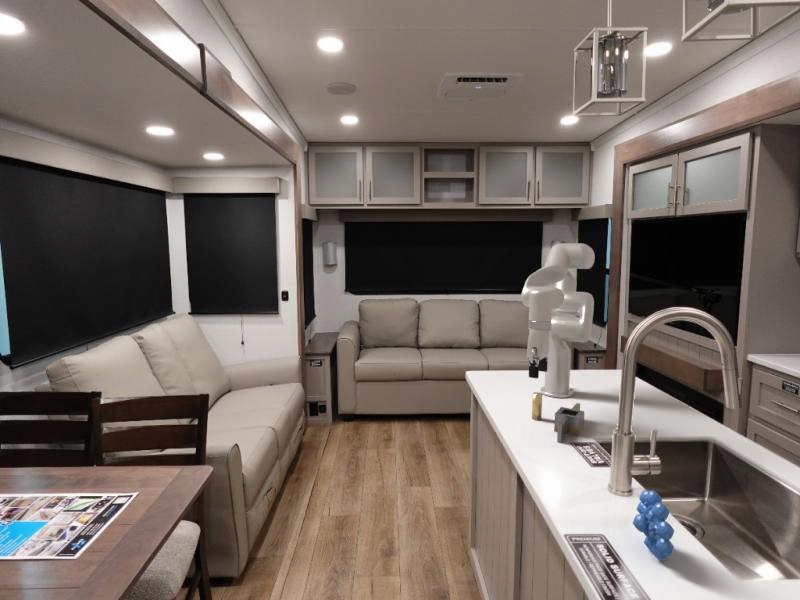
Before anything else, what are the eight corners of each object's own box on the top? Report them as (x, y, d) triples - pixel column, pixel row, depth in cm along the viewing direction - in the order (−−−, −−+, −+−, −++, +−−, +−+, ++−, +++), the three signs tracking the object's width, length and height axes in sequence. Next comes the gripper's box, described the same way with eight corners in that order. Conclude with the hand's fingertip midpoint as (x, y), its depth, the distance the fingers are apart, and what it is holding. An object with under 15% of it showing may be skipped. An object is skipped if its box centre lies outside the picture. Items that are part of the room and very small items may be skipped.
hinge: (566, 416, 167) (567, 400, 166) (589, 421, 163) (589, 404, 162) (546, 439, 148) (547, 421, 147) (571, 445, 144) (572, 426, 143)
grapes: (618, 532, 101) (622, 479, 99) (651, 533, 100) (655, 480, 99) (643, 570, 89) (647, 510, 88) (680, 571, 89) (685, 511, 87)
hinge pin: (533, 416, 167) (534, 391, 166) (542, 418, 166) (543, 393, 165) (530, 419, 165) (531, 394, 164) (539, 421, 163) (540, 395, 162)
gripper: (537, 321, 170) (535, 367, 172) (520, 328, 156) (518, 378, 158) (558, 323, 166) (556, 370, 168) (543, 330, 152) (541, 382, 154)
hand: (538, 374), depth 163 cm, fingers open, 9 cm apart
